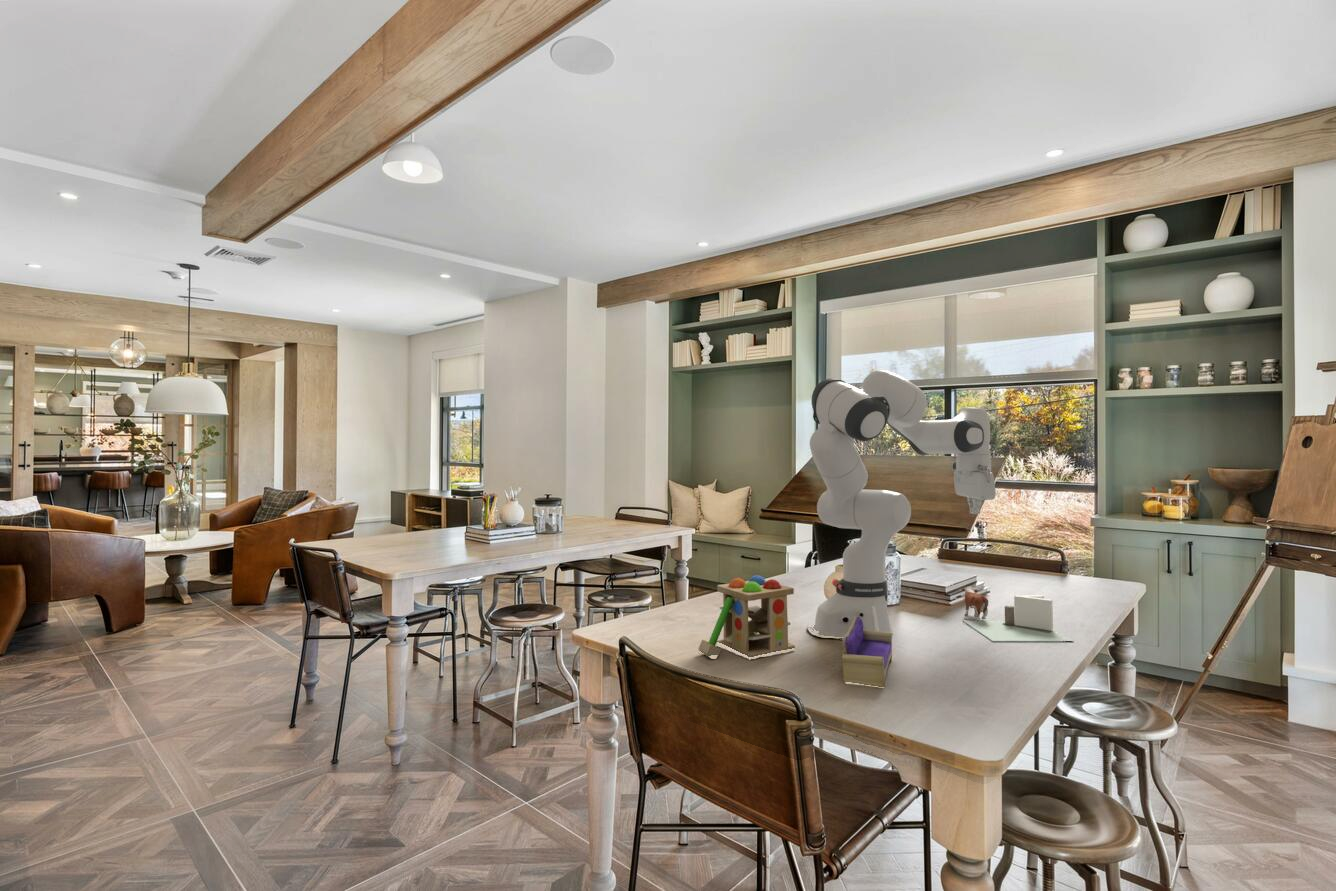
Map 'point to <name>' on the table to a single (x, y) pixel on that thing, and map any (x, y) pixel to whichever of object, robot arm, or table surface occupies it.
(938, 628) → the table surface
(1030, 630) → the mat
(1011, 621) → the fixed rail
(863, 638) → the toy sofa
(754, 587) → the pounding bench toy
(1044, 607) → the white rectangular slab
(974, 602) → the bull figurine
